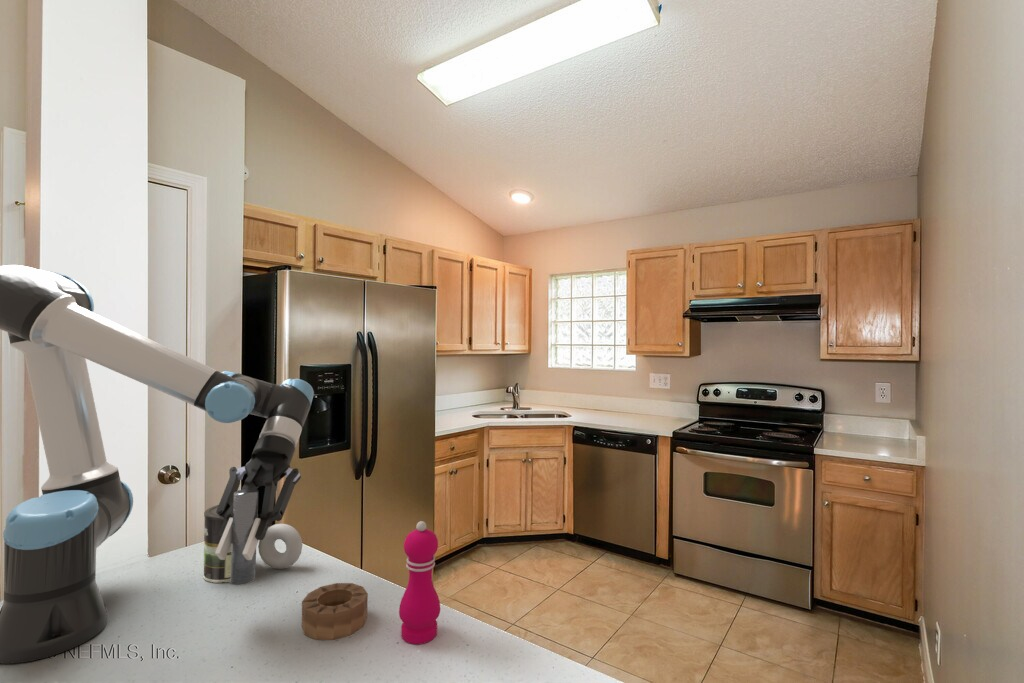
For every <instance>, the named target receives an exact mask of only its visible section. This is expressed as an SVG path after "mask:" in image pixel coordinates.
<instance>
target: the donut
mask: <svg viewBox="0 0 1024 683" xmlns="http://www.w3.org/2000/svg"><path fill="white" fill-rule="evenodd" d="M278 540H281V541H282V542H284V544H285V551H284V552H280V551H278V550H277V548H276V545H275V543H276V541H278ZM257 546H258V554H259V556H260V559H261V560H262V561H263V563H265V565H266V566H268V567H270V568H272V569H277V570H282V569H287V568H288V567H291V566H292V565H294V564H295V563H296V562H297V561H298V560H299V559H300V556H301V554H302V551H303V540H302V537H301V534H300V533H299V531H298V530H297V529H296V528H295V527H293V526H291V525H290V524H287V523H275V524H273V525H270V526H268V529H267V532H266V535H265V537H264V539H263V540H259V541H258V544H257Z"/></svg>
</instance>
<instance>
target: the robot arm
mask: <svg viewBox="0 0 1024 683" xmlns="http://www.w3.org/2000/svg"><path fill="white" fill-rule="evenodd" d="M94 309H95V305H94V299H93V297H92V294H91V293H90V292H89V290H88V289H87V288H86V287H85V286H84V285H83V284H81V283H80V282H78V281H77V280H75V279H73V278H72V277H69V276H67V275H65V274H62V273H59V272H53V271H46V270H43V269H37V268H34V267H30V266H25V265H20V264H19V265H18V264H8V265H0V331H4V332H6V333H7V335H8V336H7V337H8V341H9V344H10V347H12V348H14V349H16V350H18V351H20V352H21V353H22V354H23V355H24V361H25V366H26V369H27V375H28V380H29V383H30V384H29V385H30V389H31V395H32V398H33V402H34V403H33V404H34V407H35V413H36V416H37V421H38V426H39V432H40V435H41V440H42V443H43V444H42V445H43V449H44V454H45V458H46V464H47V467H48V469H47V470H48V473H49V477H48V478H47V480H46V481H45V482H44V483H43V484H42V485H41V488H40V490H41V493H42V494H41V495H40V496H38V497H32V498H28V499H27V500H24V501H23V502H21V503H19V504H18V505H16V506H15V507H13V509H11V510H10V511H9V513H8V515H7V517H6V519H5V527H4V530H3V532H2V534H3V541H4V544H3V546H4V548H3V549H4V552H3V555H4V556H3V558H4V559H3V561H4V562H3V570H4V571H3V602H2V606H1V607H0V664H20V663H21V664H22V663H28V662H31V661H32V662H33V661H36V660H37V661H38V660H43V659H46V658H49V657H52V656H55V655H59V654H61V653H63V652H66V651H69V650H71V649H74V648H76V647H78V646H80V645H82V644H84V643H86V642H88V641H89V640H91V639H93V638H94V637H95V636H97V635H98V634H100V632H102V630H103V629H104V628H105V627H106V626H107V622H108V607H107V605H106V603H105V602H104V600H103V597H102V595H101V592H100V589H99V587H98V584H97V582H96V580H97V579H96V578H97V577H96V569H97V568H96V567H97V566H96V565H97V548H98V547H100V546H101V545H102V544H103V543H104V542H105V541H107V539H109V537H112V536H113V535H114V534H115V533H117V532H118V531H119V530H120V529H122V526H123V525H124V524H125V523H126V521H127V520H128V518H129V516H130V515H131V512H132V509H133V506H134V496H133V492H132V490H131V488H130V486H128V485H127V483H125V482H123V481H122V480H121V477H120V473H119V468H118V467H117V466H115V465H113V464H111V463H109V462H108V461H107V457H106V452H105V448H104V442H103V438H102V433H101V428H100V422H99V418H98V413H97V407H96V403H95V398H94V394H93V388H92V385H91V384H92V383H91V379H90V373H89V370H88V364H87V360H89V361H91V362H93V363H95V364H97V365H100V366H102V367H104V368H107V369H108V370H111V371H113V372H116V373H118V374H121V375H123V376H125V377H128V378H130V379H132V380H135V381H136V382H139V383H141V384H143V385H146V386H147V387H150V388H152V389H155V390H158V391H160V392H162V393H164V394H167V395H168V396H171V397H173V398H175V399H178V400H180V401H182V402H185V403H187V404H189V405H192V406H194V407H196V408H198V409H199V410H202V411H204V412H206V413H207V414H208V416H210V418H211V419H213V420H214V421H216V422H219V423H223V424H231V423H237V422H238V421H242V420H244V419H245V418H247V417H248V415H252V416H253V415H254V416H257V417H261V418H265V419H266V420H265V423H264V424H263V427H262V429H261V432H260V433H259V437H258V439H257V441H256V443H255V446H254V448H253V450H252V453H251V457H250V459H249V461H248V462H246V464H245V465H244V466H241V467H239V468H237V467H236V466H231V467H230V468H229V470H228V471H229V478H228V481H227V484H226V486H225V488H224V491H223V494H222V496H221V498H220V500H219V504H218V505H219V506H218V508H217V511H216V513H217V514H218V516H219V517H220V518H221V519H222V520H224V521H223V524H222V526H221V528H220V531H219V537H220V538H221V540H220V542H219V545H218V547H217V549H216V552H215V554H216V555H217V556H218V558H219V559H220V560H225V558H226V555H227V553H228V550H229V548H230V545H231V543H232V528H233V503H234V492H236V491H239V487H240V485H241V481H242V480H243V478H244V476H245V475H247V476H246V478H245V480H244V484H243V486H242V487H241V489H240V490H244V489H256V490H258V488H260V487H262V486H264V487H265V488H264V494H263V500H262V508H261V513H259V516H260V517H258V518H256V519H255V521H254V524H253V527H252V529H251V532H250V534H249V537H248V540H247V542H246V545H245V548H244V550H243V553H242V554H243V555H244V557H245V558H246V559H247V560H252V557H253V554H254V552H255V549H256V550H257V546H258V544H259V540H263V539H264V537H265V535H266V532H267V529H268V528H269V527H270V524H271V523H272V522H274V521H277V522H280V521H281V520H283V517H284V515H285V512H286V509H287V507H288V505H289V502H290V499H291V496H292V493H293V490H294V489H295V486H296V485H297V484H298V482H299V481H300V479H301V478H302V476H301V473H300V471H299V469H298V468H291V466H290V464H291V463H292V460H293V457H294V453H295V452H296V447H297V445H298V442H299V440H300V436H301V434H302V430H303V428H304V426H305V423H306V421H307V418H308V415H309V412H310V410H311V406H312V402H313V400H314V399H313V398H314V395H315V391H314V389H313V386H312V385H311V384H310V383H308V382H307V381H305V380H303V379H300V378H294V379H293V378H288V379H285V380H283V381H282V383H280V384H276V383H271V382H268V381H264V380H260V379H257V378H254V377H251V376H248V375H244V374H242V373H240V372H232V371H228V370H224V371H219V370H217V369H215V368H212V367H210V366H209V365H206V364H204V363H202V362H200V361H197V360H196V359H193V358H191V357H190V356H187V355H185V354H183V353H181V352H178V351H176V350H175V349H172V348H169V347H167V346H166V345H164V344H162V343H159V342H157V341H154V340H152V339H151V338H148V337H146V336H144V335H142V334H139V333H138V332H136V331H133V330H132V329H129V328H127V327H125V326H123V325H120V324H118V323H116V322H114V321H112V320H110V319H108V318H105V317H103V316H101V315H99V314H98V313H97V314H96V313H95V312H94ZM284 477H285V479H284V482H283V484H282V487H281V490H280V492H279V493H278V494H279V495H278V497H277V499H275V498H276V497H275V496H276V492H277V491H278V483H279V481H281V480H282V479H283V478H284ZM275 500H276V501H275Z"/></svg>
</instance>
